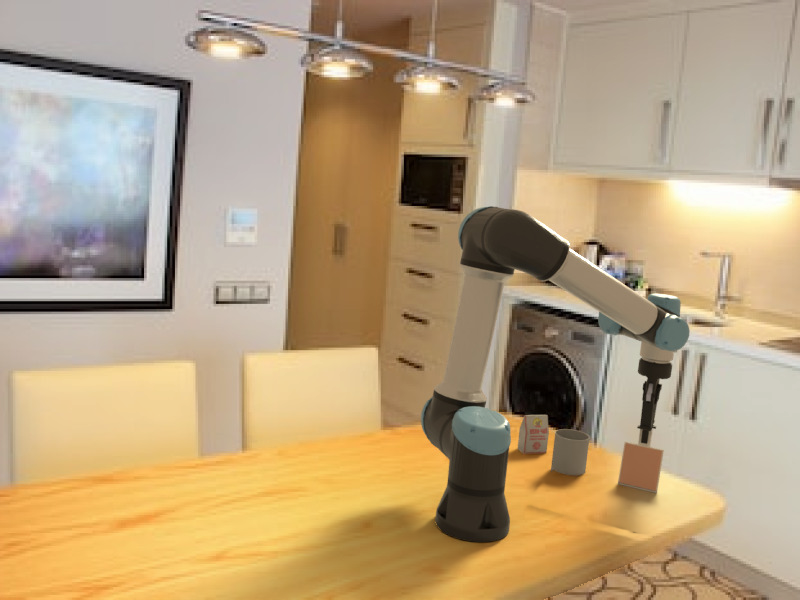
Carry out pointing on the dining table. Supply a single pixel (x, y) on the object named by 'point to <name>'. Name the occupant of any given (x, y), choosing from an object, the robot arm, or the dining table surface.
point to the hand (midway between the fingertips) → (642, 454)
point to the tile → (640, 467)
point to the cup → (570, 452)
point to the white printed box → (533, 434)
